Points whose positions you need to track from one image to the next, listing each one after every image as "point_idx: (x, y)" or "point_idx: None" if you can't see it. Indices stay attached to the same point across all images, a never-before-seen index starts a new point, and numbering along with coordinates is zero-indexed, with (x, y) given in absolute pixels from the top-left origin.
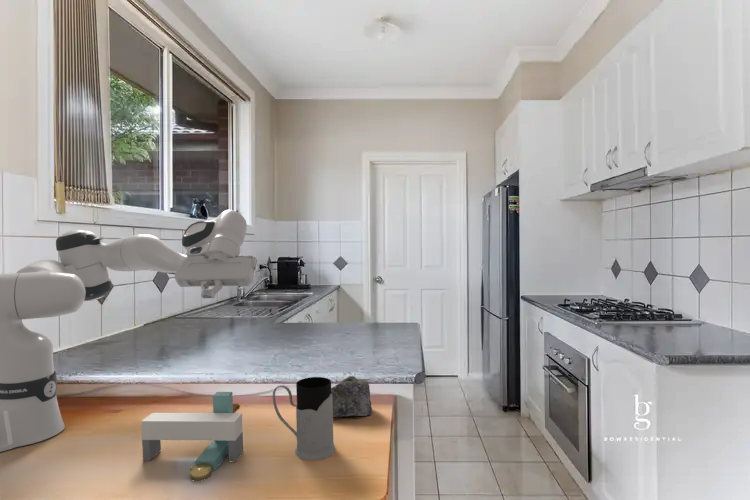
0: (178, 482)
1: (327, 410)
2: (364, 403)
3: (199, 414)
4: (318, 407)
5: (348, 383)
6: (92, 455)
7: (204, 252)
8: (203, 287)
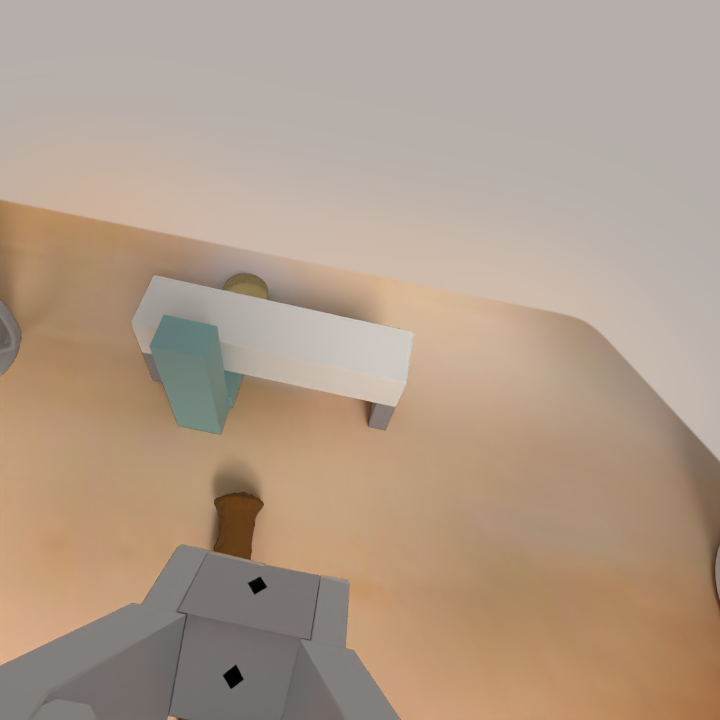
0: (286, 288)
1: None
2: None
3: (260, 341)
4: None
5: None
6: (527, 436)
7: None
8: (342, 677)
